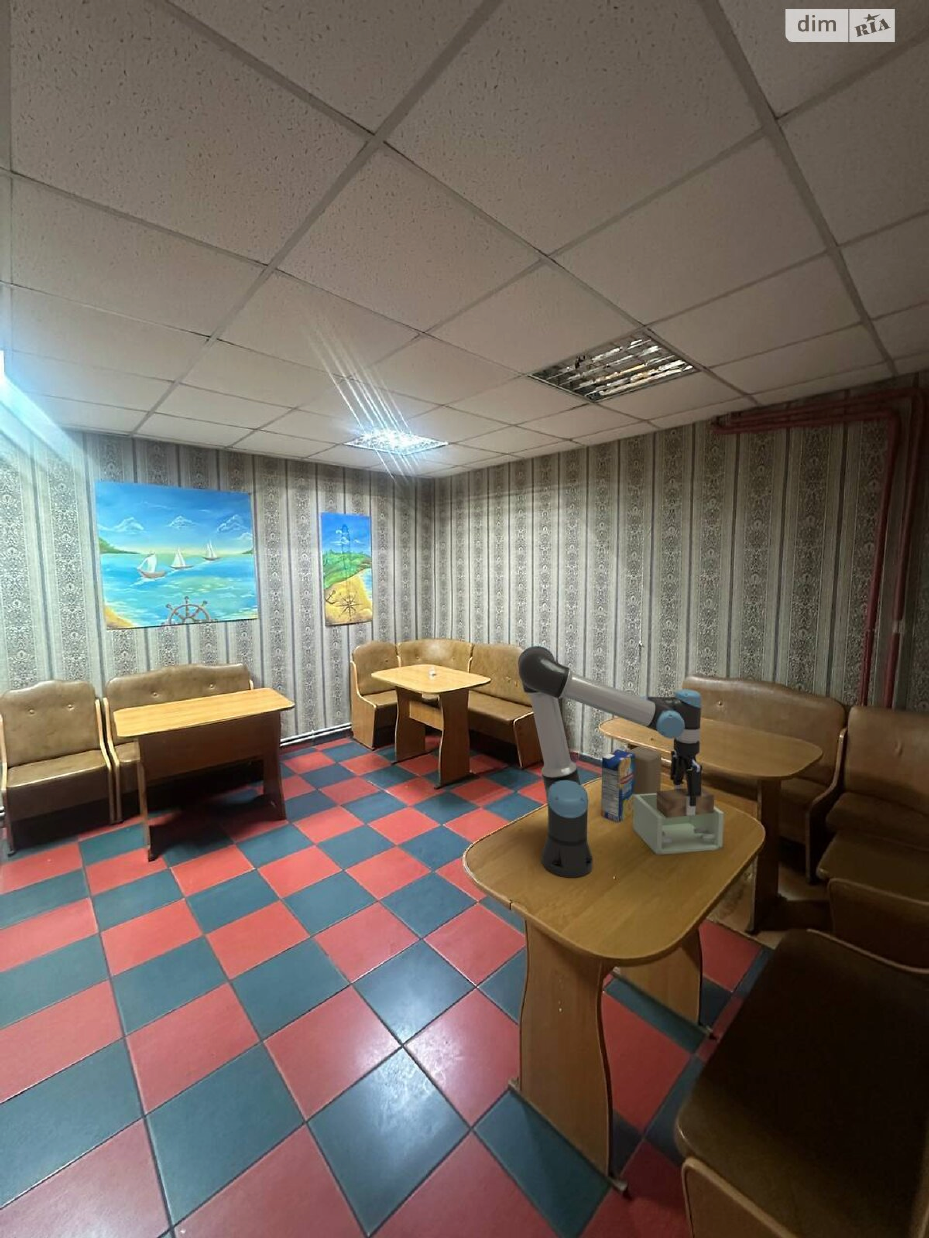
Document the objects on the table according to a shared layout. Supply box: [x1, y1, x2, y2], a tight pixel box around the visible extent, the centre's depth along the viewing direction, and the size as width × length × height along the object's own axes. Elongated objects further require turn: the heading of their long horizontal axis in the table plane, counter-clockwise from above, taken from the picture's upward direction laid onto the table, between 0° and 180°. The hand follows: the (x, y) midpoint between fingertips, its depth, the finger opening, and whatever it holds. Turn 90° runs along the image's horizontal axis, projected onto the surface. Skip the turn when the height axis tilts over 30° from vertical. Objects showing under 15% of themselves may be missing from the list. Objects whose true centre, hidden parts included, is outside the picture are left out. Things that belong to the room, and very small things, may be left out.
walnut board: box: [657, 786, 715, 818], centre depth 158 cm, size 16×6×6 cm, turn 98°
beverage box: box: [600, 749, 635, 824], centre depth 178 cm, size 7×11×22 cm, turn 134°
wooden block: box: [626, 746, 663, 795], centre depth 187 cm, size 10×10×20 cm
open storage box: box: [632, 793, 725, 856], centre depth 163 cm, size 22×16×12 cm
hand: (684, 809), depth 158 cm, fingers closed on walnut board, 6 cm apart
